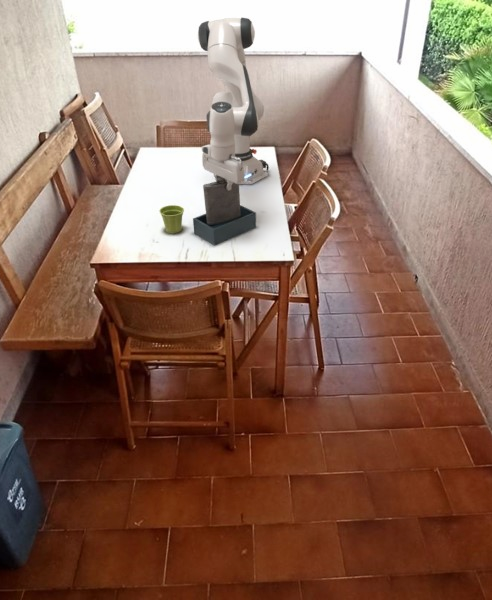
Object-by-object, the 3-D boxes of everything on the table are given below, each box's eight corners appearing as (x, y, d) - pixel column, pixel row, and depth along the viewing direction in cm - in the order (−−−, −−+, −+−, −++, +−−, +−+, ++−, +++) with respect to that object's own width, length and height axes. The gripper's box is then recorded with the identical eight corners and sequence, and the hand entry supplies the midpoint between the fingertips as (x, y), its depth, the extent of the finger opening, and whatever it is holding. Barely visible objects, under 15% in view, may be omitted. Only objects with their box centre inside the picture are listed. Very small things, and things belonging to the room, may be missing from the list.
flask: (242, 217, 191) (240, 174, 180) (209, 226, 186) (205, 182, 175) (238, 213, 194) (236, 170, 183) (205, 222, 189) (201, 179, 178)
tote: (235, 216, 203) (235, 202, 199) (255, 227, 195) (256, 212, 192) (193, 233, 191) (192, 218, 187) (214, 245, 183) (213, 229, 180)
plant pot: (164, 224, 197) (161, 204, 192) (187, 224, 197) (185, 205, 191) (159, 235, 189) (157, 215, 184) (183, 236, 189) (181, 215, 184)
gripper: (248, 156, 170) (248, 193, 178) (211, 142, 182) (213, 177, 190) (235, 161, 166) (235, 198, 175) (198, 146, 178) (200, 181, 187)
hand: (223, 187), depth 182 cm, fingers closed on flask, 4 cm apart
